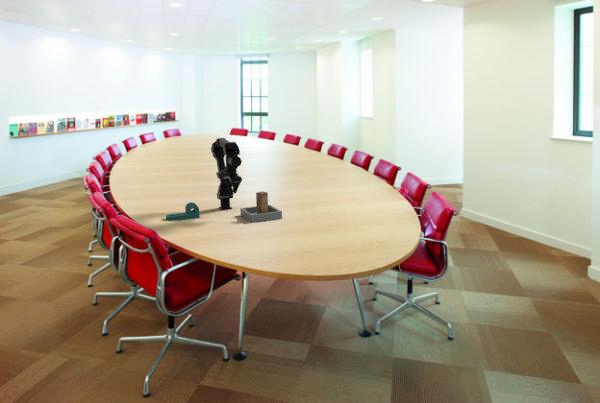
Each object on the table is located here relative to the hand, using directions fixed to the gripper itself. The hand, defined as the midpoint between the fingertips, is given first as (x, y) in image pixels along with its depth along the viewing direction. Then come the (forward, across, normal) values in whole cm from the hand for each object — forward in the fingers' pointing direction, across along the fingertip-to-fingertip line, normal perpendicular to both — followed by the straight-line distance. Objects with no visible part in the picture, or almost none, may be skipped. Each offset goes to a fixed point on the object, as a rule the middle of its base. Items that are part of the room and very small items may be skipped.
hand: (232, 191), depth 274 cm
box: (+13, +13, +12) cm, 22 cm away
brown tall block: (+12, +14, +12) cm, 22 cm away
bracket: (+14, -6, -28) cm, 31 cm away
